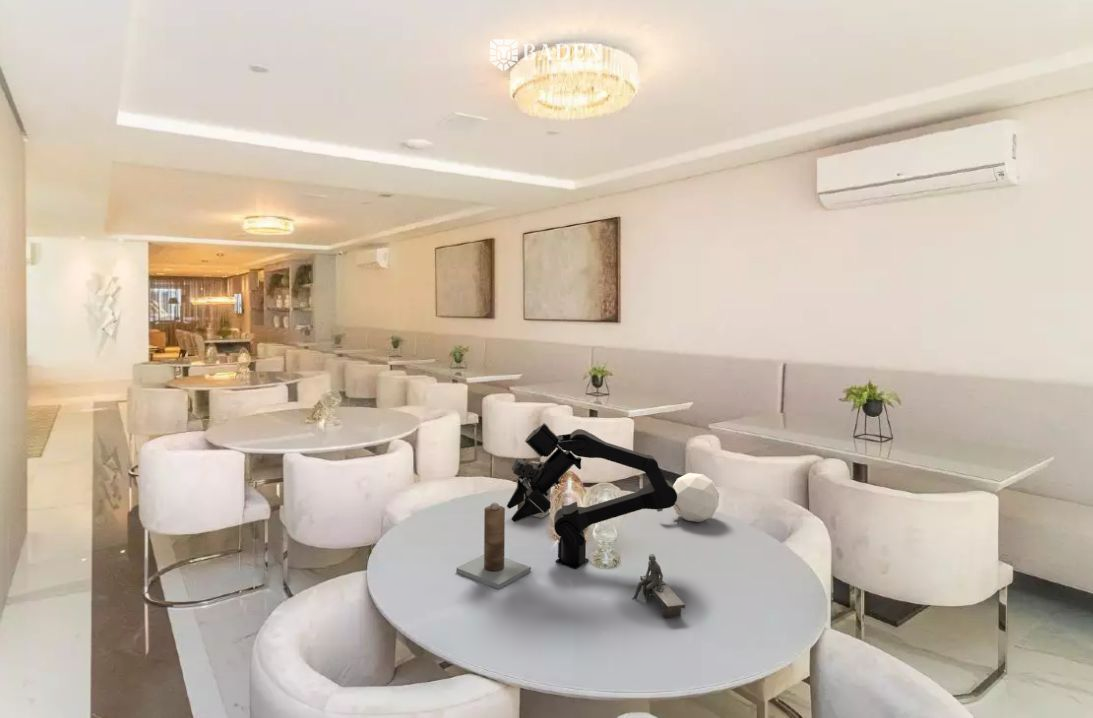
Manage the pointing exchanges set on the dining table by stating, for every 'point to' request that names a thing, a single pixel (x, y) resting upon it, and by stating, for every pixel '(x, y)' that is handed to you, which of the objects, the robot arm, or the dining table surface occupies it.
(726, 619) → the dining table surface
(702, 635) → the dining table surface
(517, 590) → the dining table surface
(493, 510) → the pepper mill
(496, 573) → the slate board
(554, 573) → the dining table surface
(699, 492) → the faceted white ball
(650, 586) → the sculpture
